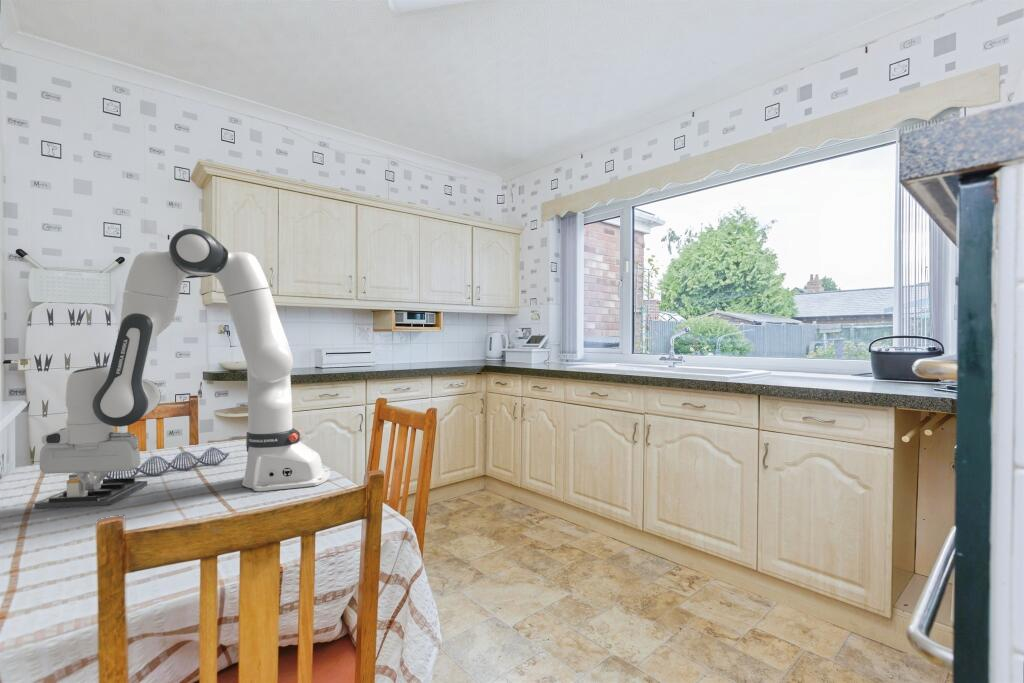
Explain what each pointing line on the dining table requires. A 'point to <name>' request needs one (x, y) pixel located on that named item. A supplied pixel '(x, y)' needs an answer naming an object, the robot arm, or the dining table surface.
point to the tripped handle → (75, 488)
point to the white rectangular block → (73, 476)
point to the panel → (95, 494)
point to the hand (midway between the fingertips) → (92, 489)
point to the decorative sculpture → (172, 463)
